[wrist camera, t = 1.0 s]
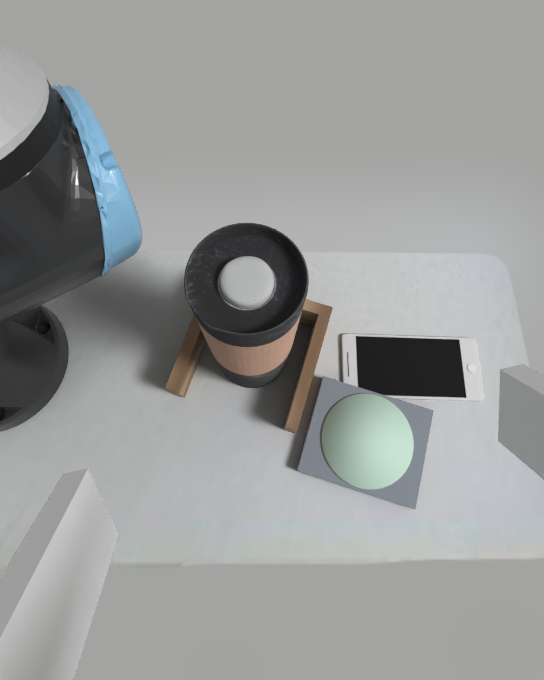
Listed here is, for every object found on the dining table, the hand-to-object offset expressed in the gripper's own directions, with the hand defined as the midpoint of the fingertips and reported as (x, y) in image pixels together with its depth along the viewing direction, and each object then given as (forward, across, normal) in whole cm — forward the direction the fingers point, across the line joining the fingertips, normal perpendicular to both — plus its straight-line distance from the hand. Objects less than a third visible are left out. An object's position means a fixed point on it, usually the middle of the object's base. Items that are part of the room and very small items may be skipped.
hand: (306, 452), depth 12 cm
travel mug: (+29, -1, -8) cm, 30 cm away
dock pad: (+22, +8, -18) cm, 29 cm away
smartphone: (+27, +16, -13) cm, 33 cm away
